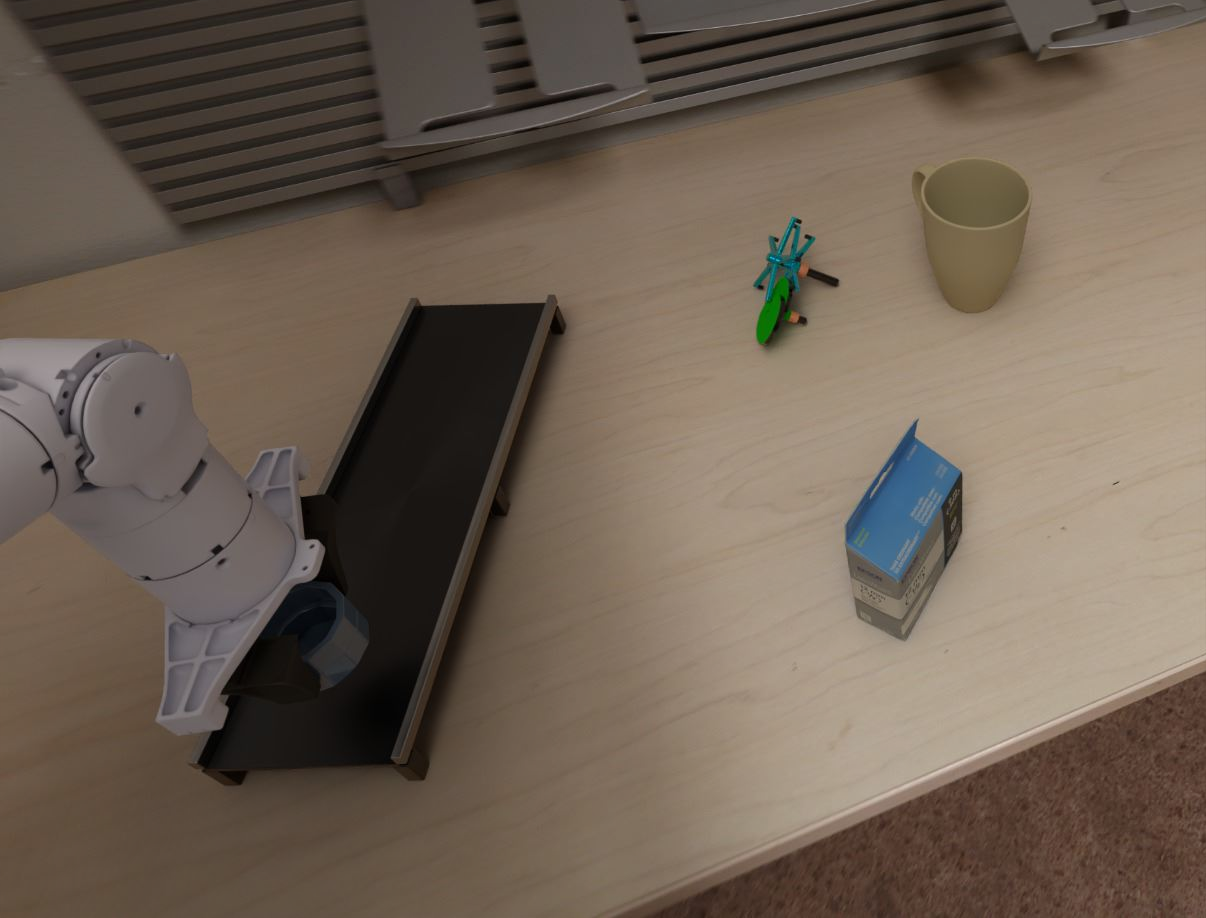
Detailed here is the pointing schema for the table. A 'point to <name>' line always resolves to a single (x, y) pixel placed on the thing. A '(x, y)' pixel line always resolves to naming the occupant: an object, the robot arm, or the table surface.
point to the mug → (972, 226)
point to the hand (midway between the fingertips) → (315, 644)
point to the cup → (322, 630)
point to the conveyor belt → (402, 535)
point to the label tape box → (903, 535)
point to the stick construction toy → (784, 282)
